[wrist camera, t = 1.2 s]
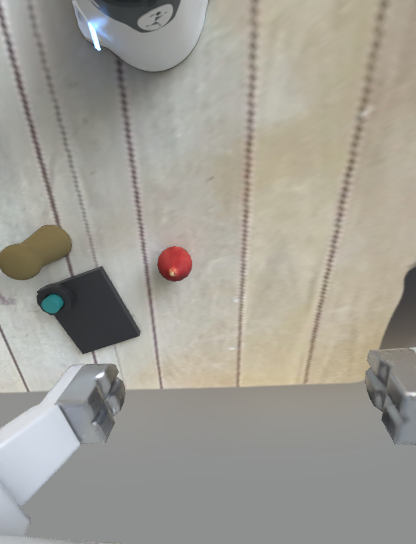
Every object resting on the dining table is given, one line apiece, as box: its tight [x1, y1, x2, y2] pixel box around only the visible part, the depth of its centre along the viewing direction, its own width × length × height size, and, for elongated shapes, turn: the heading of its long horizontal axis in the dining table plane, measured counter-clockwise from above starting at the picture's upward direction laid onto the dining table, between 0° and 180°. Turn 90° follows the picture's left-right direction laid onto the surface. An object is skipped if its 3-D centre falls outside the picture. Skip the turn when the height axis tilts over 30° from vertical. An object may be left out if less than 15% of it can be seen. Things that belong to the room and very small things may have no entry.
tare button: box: [41, 294, 64, 313], centre depth 46 cm, size 3×3×2 cm
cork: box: [0, 225, 72, 280], centre depth 40 cm, size 6×6×11 cm
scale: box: [37, 266, 140, 354], centre depth 50 cm, size 16×13×3 cm
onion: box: [157, 246, 192, 282], centre depth 43 cm, size 6×6×8 cm
